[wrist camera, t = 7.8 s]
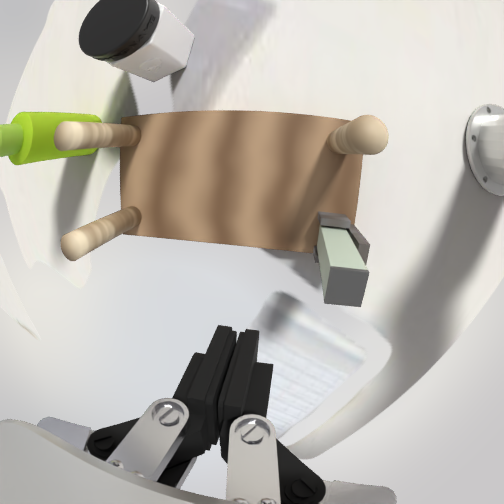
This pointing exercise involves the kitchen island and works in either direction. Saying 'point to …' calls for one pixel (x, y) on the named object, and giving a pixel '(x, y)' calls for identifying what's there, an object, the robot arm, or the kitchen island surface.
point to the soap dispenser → (38, 136)
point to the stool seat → (229, 177)
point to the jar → (136, 37)
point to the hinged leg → (340, 267)
